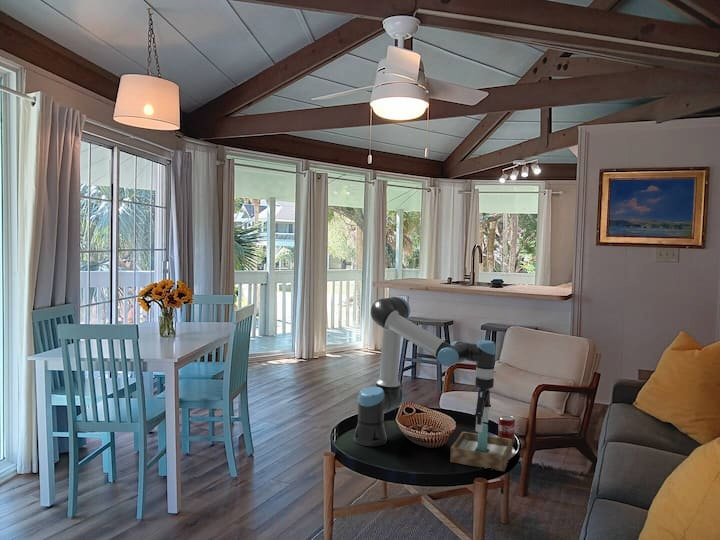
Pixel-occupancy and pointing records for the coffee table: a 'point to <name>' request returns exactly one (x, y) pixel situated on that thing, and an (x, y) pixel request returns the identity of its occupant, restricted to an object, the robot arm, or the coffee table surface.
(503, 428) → the soda can
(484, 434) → the teal peg
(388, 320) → the robot arm
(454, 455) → the wooden box with hole
